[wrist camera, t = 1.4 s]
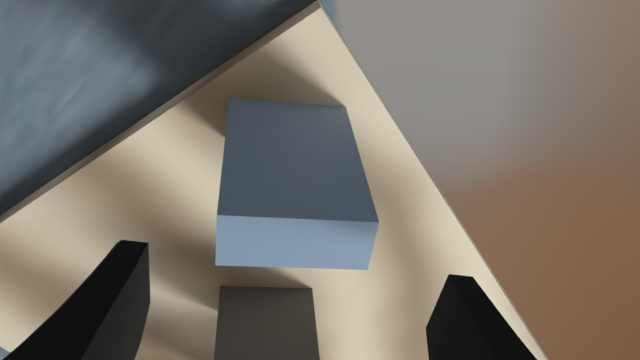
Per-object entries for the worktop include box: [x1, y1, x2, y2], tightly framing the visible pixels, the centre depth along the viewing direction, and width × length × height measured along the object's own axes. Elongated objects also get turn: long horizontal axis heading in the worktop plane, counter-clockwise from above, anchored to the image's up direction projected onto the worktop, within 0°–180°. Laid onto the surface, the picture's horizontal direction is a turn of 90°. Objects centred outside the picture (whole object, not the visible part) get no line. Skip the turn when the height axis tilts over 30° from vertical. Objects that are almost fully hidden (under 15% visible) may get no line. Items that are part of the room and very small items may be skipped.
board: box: [0, 0, 548, 360], centre depth 28 cm, size 22×26×1 cm
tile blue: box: [215, 98, 379, 270], centre depth 18 cm, size 2×4×7 cm, turn 83°
